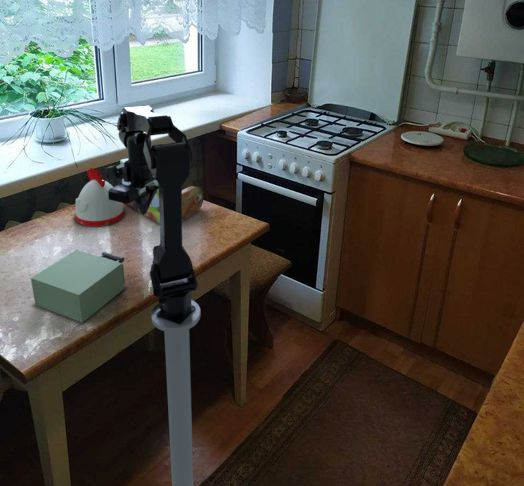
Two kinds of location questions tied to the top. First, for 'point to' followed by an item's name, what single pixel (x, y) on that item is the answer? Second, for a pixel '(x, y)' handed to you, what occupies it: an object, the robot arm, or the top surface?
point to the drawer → (114, 258)
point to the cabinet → (77, 285)
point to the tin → (191, 201)
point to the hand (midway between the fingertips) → (143, 213)
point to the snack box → (154, 206)
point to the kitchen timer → (97, 203)
